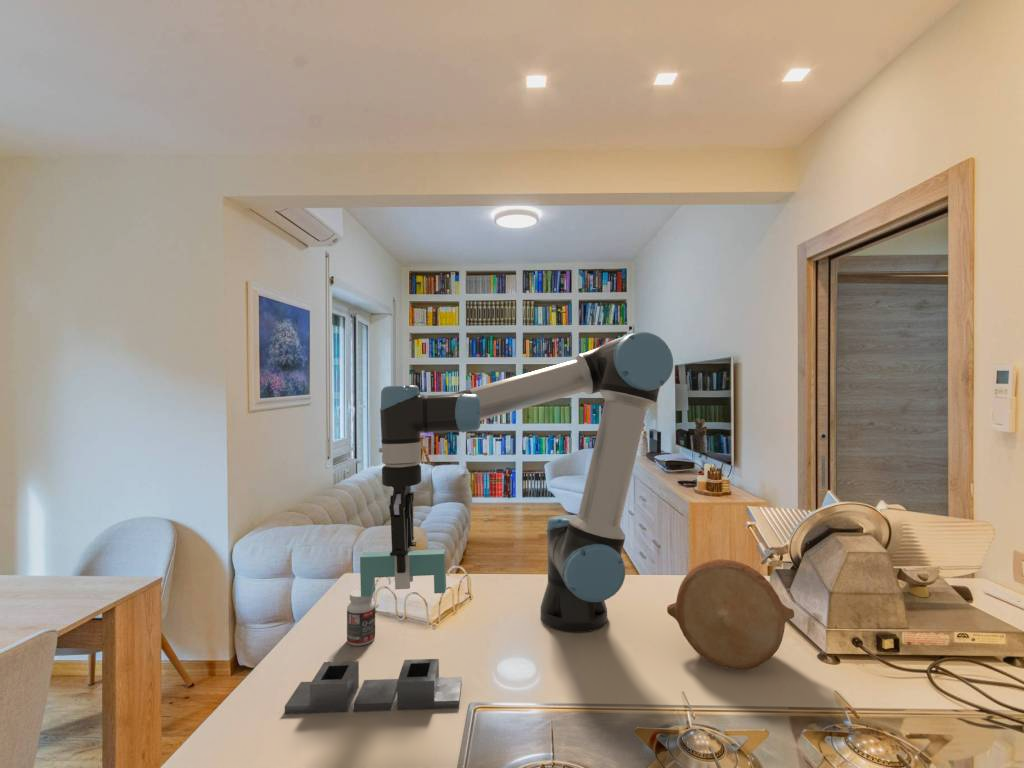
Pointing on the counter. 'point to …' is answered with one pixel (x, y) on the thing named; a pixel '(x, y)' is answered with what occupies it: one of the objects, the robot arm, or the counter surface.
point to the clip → (418, 561)
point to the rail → (376, 689)
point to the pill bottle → (360, 619)
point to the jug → (730, 614)
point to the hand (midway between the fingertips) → (404, 584)
